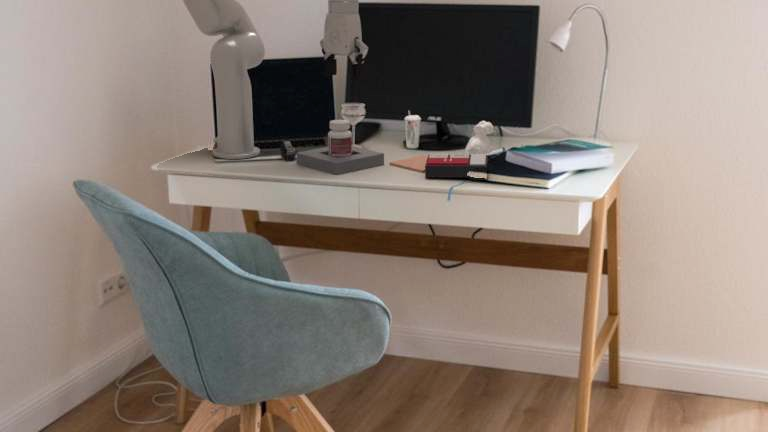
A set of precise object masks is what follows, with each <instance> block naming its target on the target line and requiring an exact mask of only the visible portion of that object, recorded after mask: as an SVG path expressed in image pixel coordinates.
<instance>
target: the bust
mask: <svg viewBox="0 0 768 432" xmlns="http://www.w3.org/2000/svg"><path fill="white" fill-rule="evenodd" d="M473 132H474V135H473V136H472V137H471V138H470V139H469V140H468V142H467V144H466V146H465V149H464V153H469V155H471V154H488V153H489V154H490V153H491V151H492V146H491V140H489V138H488V136H487V135H492V133H493V132H494V126H493V124H492V123H491V122H490V121H486V120H481V121H479V122H478V123H477V124H476V125H475V126H474V127H473Z"/></svg>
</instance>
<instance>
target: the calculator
mask: <svg viewBox="0 0 768 432" xmlns="http://www.w3.org/2000/svg"><path fill="white" fill-rule="evenodd" d="M427 157H428V158H427V161H426V165H425V172H424V173H425V175H424V177H425V178H468V179H469V180H471V181H473V180H474V181H487V179H488V178H487V179H485V178H474V177H470V176H467V173H468V172H469V171H471V170H473V169H475V168H487V163H488V162H489V155H486V154H471V155H469V153H465V152H450V154H449V153H448V152H431V153H429V154H428V155H427ZM488 164H489V163H488Z"/></svg>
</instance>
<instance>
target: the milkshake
mask: <svg viewBox="0 0 768 432" xmlns="http://www.w3.org/2000/svg"><path fill="white" fill-rule="evenodd" d="M407 111H408V115H406V116H405V117H404V129H405V130H404V132H405V143H406V148H407V149H418V148H419V144H420V131H421V130H420V129H421V121H422V118H421V116H420V115H418V114H413V115H412V114H411V110H407Z"/></svg>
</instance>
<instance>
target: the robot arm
mask: <svg viewBox="0 0 768 432" xmlns="http://www.w3.org/2000/svg"><path fill="white" fill-rule="evenodd" d="M327 1H328V2H327V7H328V9H327V10H328V11H327V13H326V15H325V20H324V27H323V28H324V29H323V39H321V40H320V41H319V45H320V48H321V52H322V55H323V59H324V60H325V76H326V77H327V76H329V77H331V76H336V75H337V74H338V72H337V71H338V69H337V67H338V66H337V65H338V64H337V62H338V61H337V60H338V59H337V58H336V56H344V57H347V56H349V57H348V58H349V59H350V60H351V62H352V63H350V80H351V81H359V80H362V79H363V64H364V62H365V59H366V58H367V54H368V51H369V46H368V45H366V44H365V43H364V42H363V40H362V39H363V38H362V37H363V35H362V33H363V32H362V25H361V24H362V23H361V17H360V14H359V0H327ZM182 2H183V3H184V6H185V7H186V9H187V11H188V13H189V15H190V16H191V18H192V20H193V21H194V23H195V25H196V27H197V29H198V30H199V31H200V32H201V34H203V35H205V36H208V37H215V36H220V35H222V37H221V38H220V39H217V40H216V41H215V42H214V44H212V47H211V49H210V53H209V54H210V55H209V57H210V65H211V69H212V73H213V79H214V80H213V81H214V89H215V91H214V92H215V105H216V106H215V108H216V123H217V124H216V127H217V136H216V137H214V138H213V143H215V144H216V145H217V147H216V148H214V149H213V150H212V155H213V157H215V158H219V159H223V160H224V159H225V160H226V159H227V160H241V159H248V158H249V159H250V158H254V157H257V156H259V155H260V154H261V151H260V150H261V149H260V148H259V147H257V146H255V143H254V142H255V139H254V120H253V119H254V118H253V117H254V116H253V115H254V114H253V97H252V96H253V93H252V91H253V90H252V83H251V79H250V76H249V74H248V73H249V72H248V70H251V69H252V68H256V67H257V66H259V65H260V64H261V63H262V62H263V60H264V58H265V55H266V50H265V45H264V42H263V39H262V38H261V36H260V34H259V33H258V30H257V29H256V27H255V25H254V24H253V22H252V20H251V18H250V15H249V14H248V13H247V11H246V9H245V8H244V6H243V5H241V3H239V2H238V1H237V0H182Z"/></svg>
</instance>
